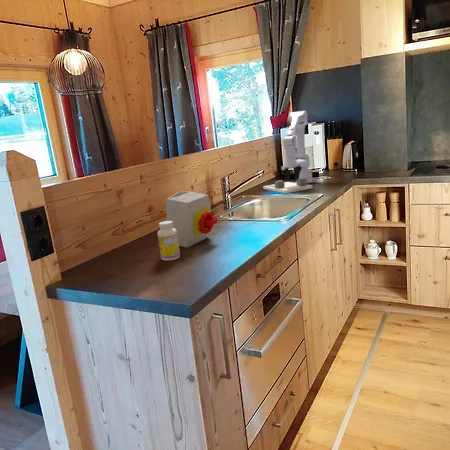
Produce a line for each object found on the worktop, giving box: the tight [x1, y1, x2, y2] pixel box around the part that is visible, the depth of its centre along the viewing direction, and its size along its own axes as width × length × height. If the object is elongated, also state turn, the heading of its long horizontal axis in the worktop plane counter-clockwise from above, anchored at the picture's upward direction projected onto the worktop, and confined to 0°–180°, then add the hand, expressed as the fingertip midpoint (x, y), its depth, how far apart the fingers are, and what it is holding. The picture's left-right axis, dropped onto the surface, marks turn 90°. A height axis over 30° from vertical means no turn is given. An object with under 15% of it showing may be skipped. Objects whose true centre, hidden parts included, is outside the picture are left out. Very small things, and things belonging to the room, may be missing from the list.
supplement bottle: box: [157, 220, 181, 262], centre depth 148 cm, size 7×7×13 cm
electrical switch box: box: [165, 190, 218, 249], centre depth 163 cm, size 15×15×20 cm
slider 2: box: [295, 178, 308, 186], centre depth 255 cm, size 4×4×4 cm
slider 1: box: [274, 179, 285, 188], centre depth 255 cm, size 4×4×4 cm
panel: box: [262, 181, 313, 194], centre depth 260 cm, size 18×26×2 cm
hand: (292, 180), depth 253 cm, fingers open, 7 cm apart
